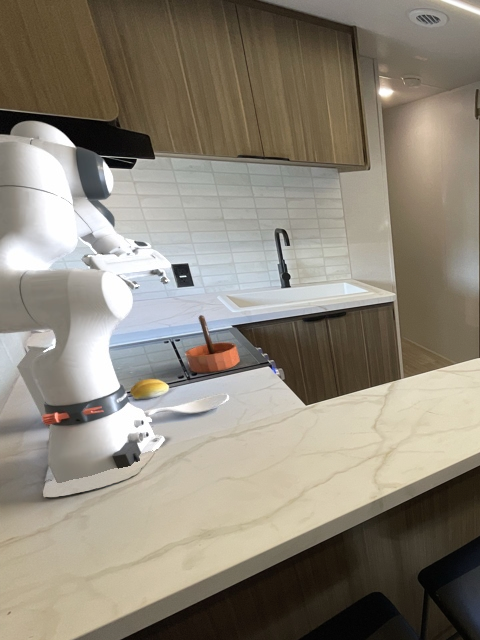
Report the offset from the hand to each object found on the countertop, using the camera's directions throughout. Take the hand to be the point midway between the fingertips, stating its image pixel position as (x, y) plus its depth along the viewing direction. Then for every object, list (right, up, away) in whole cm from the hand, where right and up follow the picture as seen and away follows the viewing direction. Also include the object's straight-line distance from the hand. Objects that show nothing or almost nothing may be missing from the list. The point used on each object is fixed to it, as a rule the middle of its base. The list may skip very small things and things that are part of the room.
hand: (152, 285), depth 125 cm
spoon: (+23, -40, -25) cm, 52 cm away
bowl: (+12, -25, +11) cm, 30 cm away
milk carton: (-1, -39, -22) cm, 45 cm away
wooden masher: (+12, -24, +11) cm, 29 cm away
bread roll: (+8, -34, -9) cm, 36 cm away
